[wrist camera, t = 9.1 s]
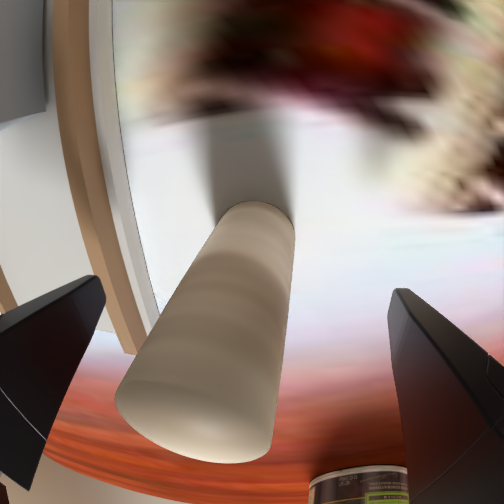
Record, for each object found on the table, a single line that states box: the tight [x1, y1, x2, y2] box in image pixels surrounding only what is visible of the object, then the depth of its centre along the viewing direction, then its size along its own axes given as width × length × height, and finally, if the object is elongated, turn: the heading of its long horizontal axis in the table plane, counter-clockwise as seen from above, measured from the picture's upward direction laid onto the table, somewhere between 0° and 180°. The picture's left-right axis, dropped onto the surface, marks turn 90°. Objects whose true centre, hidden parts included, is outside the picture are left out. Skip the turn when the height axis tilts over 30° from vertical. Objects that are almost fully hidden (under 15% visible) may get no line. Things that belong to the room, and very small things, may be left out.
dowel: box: [115, 201, 295, 463], centre depth 8 cm, size 3×3×8 cm
